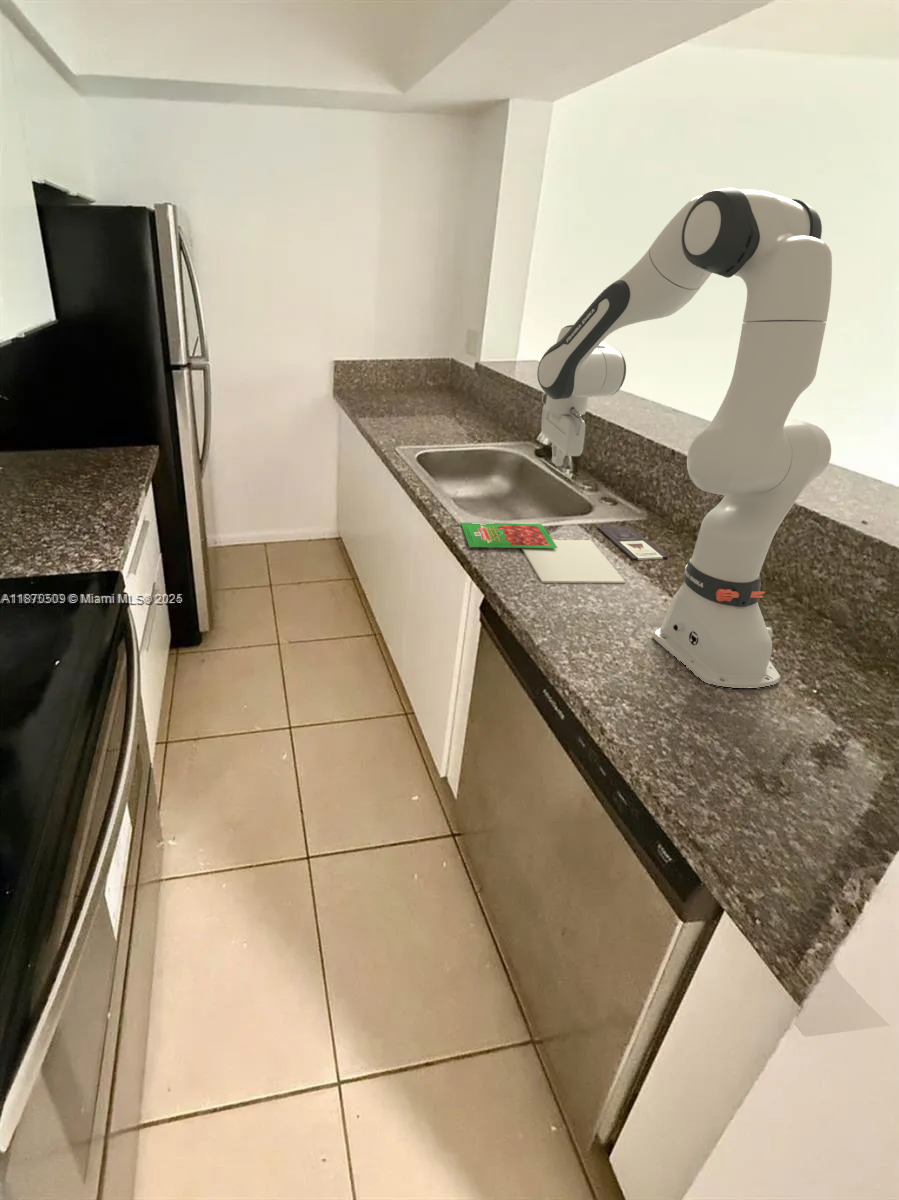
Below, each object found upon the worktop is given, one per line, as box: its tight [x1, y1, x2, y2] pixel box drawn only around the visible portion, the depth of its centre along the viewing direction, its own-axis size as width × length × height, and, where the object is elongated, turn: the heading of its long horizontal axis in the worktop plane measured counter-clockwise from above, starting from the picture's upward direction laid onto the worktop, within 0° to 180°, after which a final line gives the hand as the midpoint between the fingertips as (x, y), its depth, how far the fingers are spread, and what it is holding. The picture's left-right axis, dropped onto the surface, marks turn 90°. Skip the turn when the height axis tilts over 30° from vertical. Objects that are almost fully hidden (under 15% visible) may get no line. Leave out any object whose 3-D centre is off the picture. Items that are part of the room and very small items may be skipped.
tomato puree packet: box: [460, 522, 557, 549], centre depth 151 cm, size 15×1×20 cm
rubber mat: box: [521, 539, 626, 584], centre depth 142 cm, size 21×18×1 cm
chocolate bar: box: [596, 525, 669, 561], centre depth 155 cm, size 9×1×18 cm
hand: (556, 464), depth 150 cm, fingers closed
